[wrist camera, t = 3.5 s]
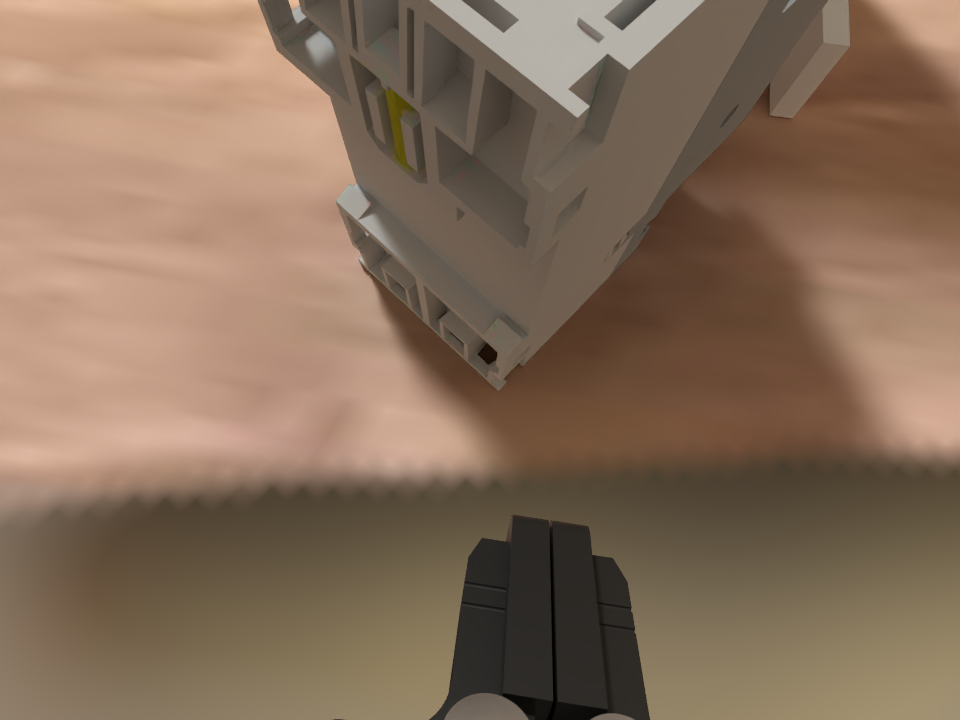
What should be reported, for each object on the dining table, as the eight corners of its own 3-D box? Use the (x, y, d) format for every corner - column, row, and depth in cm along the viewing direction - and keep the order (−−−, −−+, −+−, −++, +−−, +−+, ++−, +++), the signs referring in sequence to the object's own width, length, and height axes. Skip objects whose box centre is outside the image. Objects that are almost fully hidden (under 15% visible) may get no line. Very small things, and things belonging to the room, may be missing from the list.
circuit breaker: (726, 156, 25) (1079, -347, 11) (498, 391, 22) (563, 129, 8) (593, 54, 26) (748, -516, 12) (359, 263, 23) (191, -168, 9)
